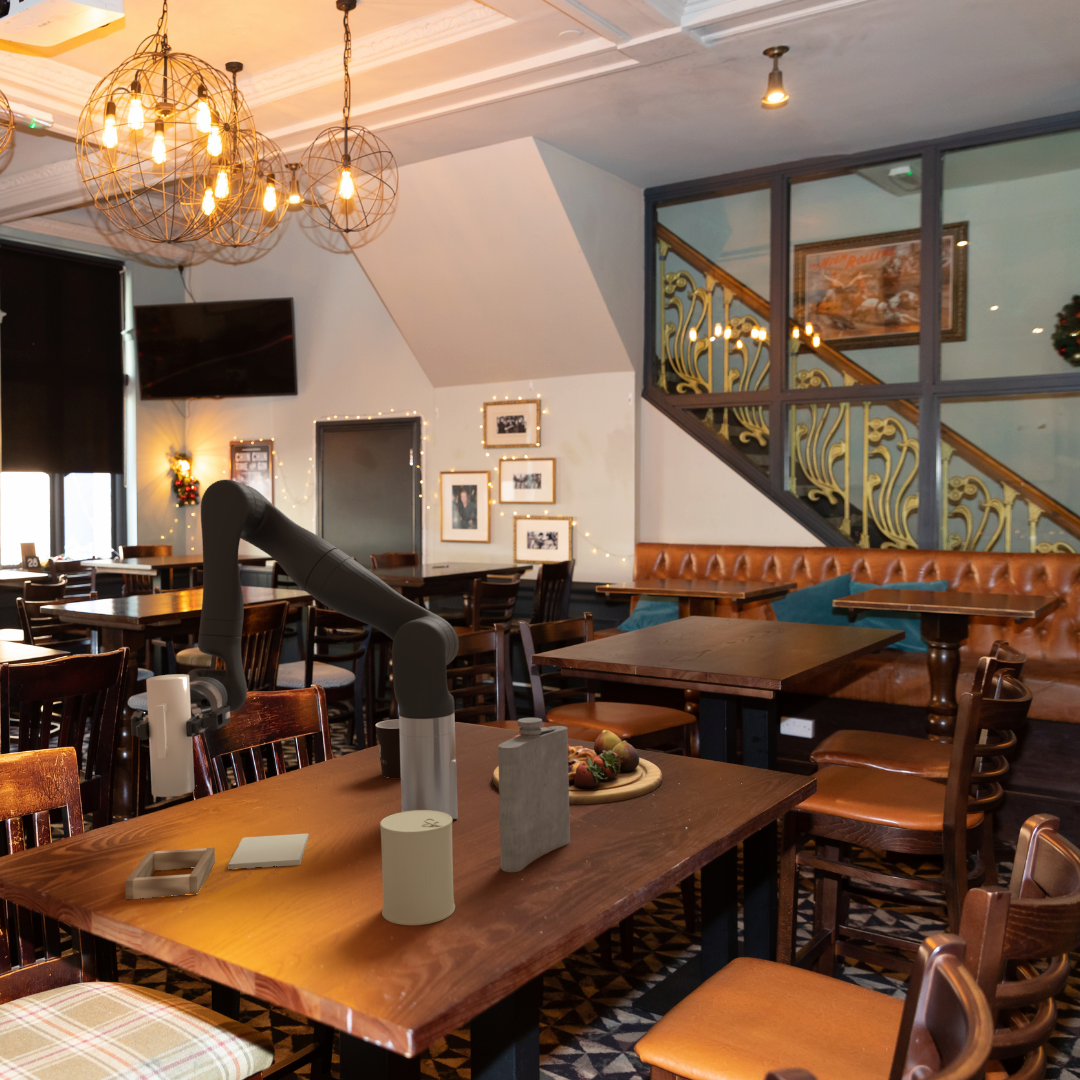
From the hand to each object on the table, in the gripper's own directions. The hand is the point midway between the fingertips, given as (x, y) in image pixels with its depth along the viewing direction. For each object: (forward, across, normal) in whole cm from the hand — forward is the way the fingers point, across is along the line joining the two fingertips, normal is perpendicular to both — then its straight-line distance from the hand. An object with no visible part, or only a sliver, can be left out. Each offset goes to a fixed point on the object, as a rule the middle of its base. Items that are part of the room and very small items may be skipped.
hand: (166, 730), depth 135 cm
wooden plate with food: (-42, +64, +23) cm, 79 cm away
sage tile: (-11, +12, +22) cm, 27 cm away
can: (+15, +34, +22) cm, 43 cm away
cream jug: (-1, 0, +9) cm, 9 cm away
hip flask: (-3, +50, +22) cm, 55 cm away
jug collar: (-1, 0, +21) cm, 21 cm away
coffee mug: (-55, +30, +22) cm, 66 cm away
